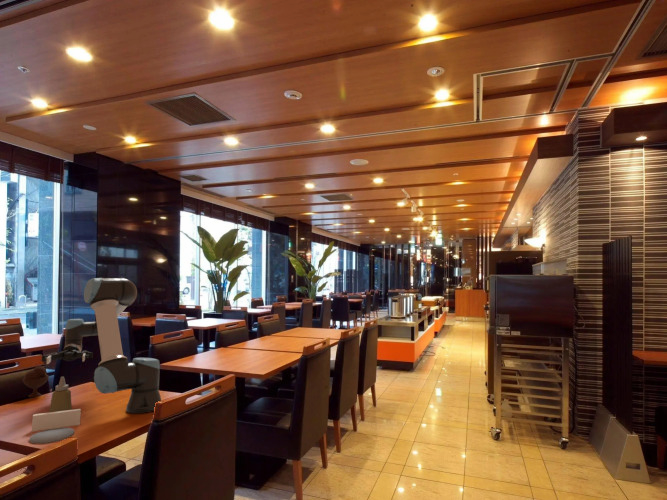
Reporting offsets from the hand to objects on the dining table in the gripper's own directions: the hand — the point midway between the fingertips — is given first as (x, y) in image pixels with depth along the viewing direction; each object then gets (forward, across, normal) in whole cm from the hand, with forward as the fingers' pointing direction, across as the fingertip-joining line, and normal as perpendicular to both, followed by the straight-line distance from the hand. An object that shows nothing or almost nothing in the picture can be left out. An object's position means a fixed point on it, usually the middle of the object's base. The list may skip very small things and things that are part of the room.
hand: (65, 359), depth 181 cm
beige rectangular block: (+20, 0, -24) cm, 31 cm away
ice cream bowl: (-40, +16, -24) cm, 50 cm away
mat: (+31, 0, -23) cm, 39 cm away
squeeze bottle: (+10, 0, -24) cm, 26 cm away
